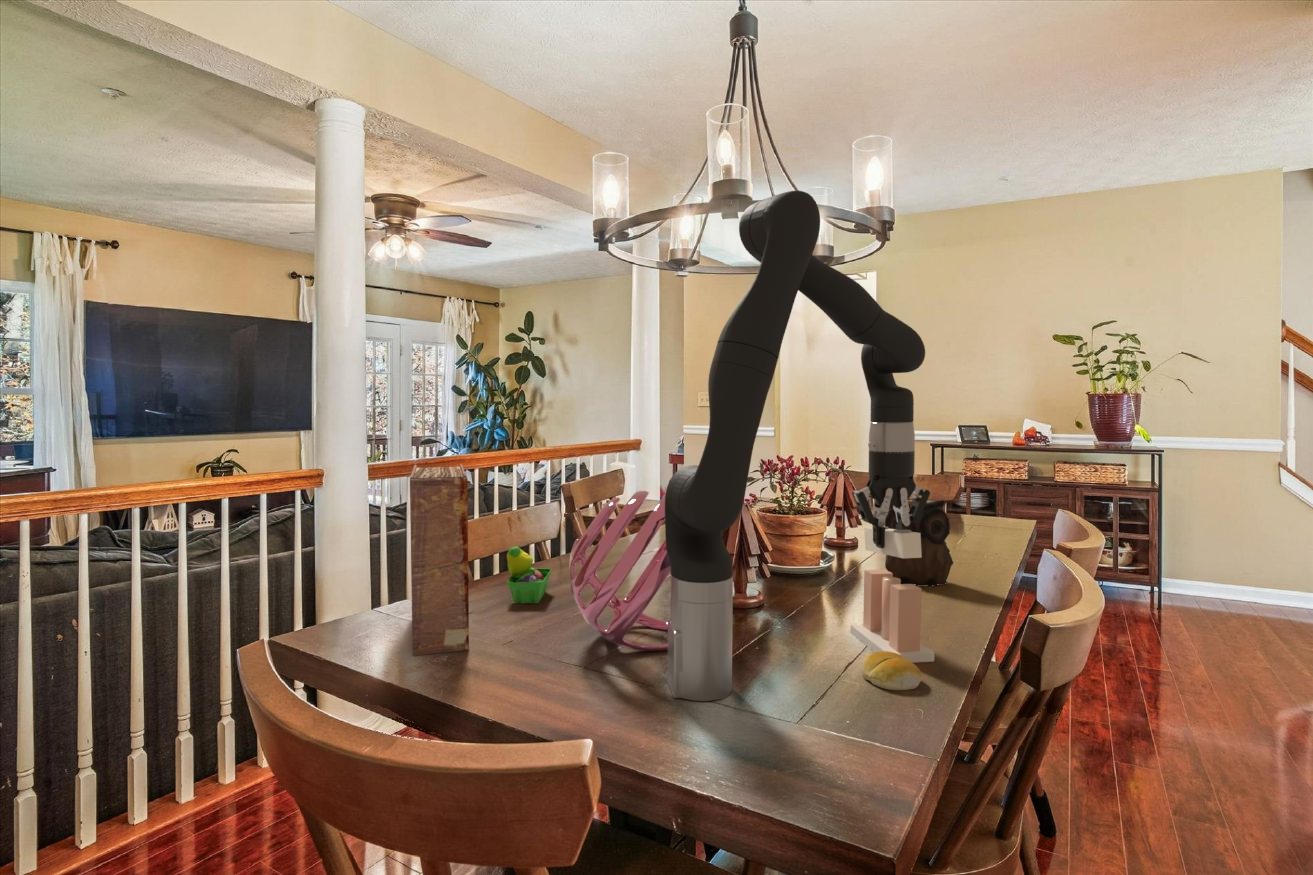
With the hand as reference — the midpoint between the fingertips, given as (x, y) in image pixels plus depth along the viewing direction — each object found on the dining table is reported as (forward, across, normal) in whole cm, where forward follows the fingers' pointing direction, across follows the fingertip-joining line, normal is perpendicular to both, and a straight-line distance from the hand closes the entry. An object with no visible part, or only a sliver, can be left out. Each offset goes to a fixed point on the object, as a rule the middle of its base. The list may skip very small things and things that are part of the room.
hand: (890, 546), depth 119 cm
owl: (+19, +28, +40) cm, 52 cm away
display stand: (+18, 0, 0) cm, 18 cm away
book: (+17, -80, +19) cm, 83 cm away
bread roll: (+18, -7, -14) cm, 23 cm away
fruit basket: (+17, -64, +38) cm, 77 cm away
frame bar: (+1, 0, -1) cm, 1 cm away
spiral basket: (+17, -44, +10) cm, 48 cm away
